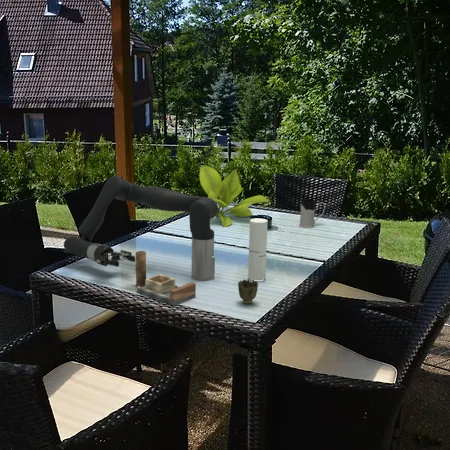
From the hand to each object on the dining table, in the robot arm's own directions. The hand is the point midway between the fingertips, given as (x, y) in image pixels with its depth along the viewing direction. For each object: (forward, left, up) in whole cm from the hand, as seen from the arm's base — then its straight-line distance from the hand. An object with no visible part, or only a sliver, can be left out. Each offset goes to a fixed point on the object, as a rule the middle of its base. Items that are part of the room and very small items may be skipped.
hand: (126, 261), depth 226 cm
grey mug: (-106, -76, -9) cm, 131 cm away
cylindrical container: (-53, +4, -9) cm, 54 cm away
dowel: (-5, +6, -8) cm, 12 cm away
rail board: (-14, +17, -8) cm, 23 cm away
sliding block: (-12, +14, -7) cm, 20 cm away
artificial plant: (-62, -96, -9) cm, 115 cm away
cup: (-43, +29, -9) cm, 53 cm away
